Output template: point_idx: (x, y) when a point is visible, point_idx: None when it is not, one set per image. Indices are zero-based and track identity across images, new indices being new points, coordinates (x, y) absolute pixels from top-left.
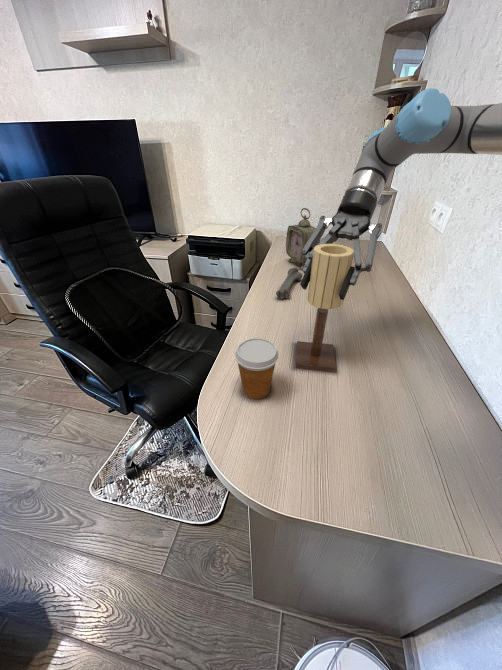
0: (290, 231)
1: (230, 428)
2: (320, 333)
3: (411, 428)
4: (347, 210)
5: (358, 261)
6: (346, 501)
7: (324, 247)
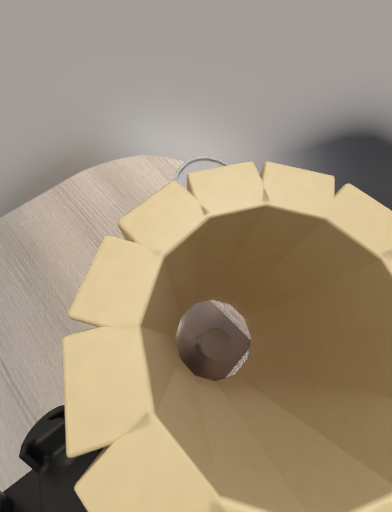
0: None
1: (172, 179)
2: (199, 336)
3: (13, 341)
4: None
5: (65, 485)
6: (44, 210)
7: None
